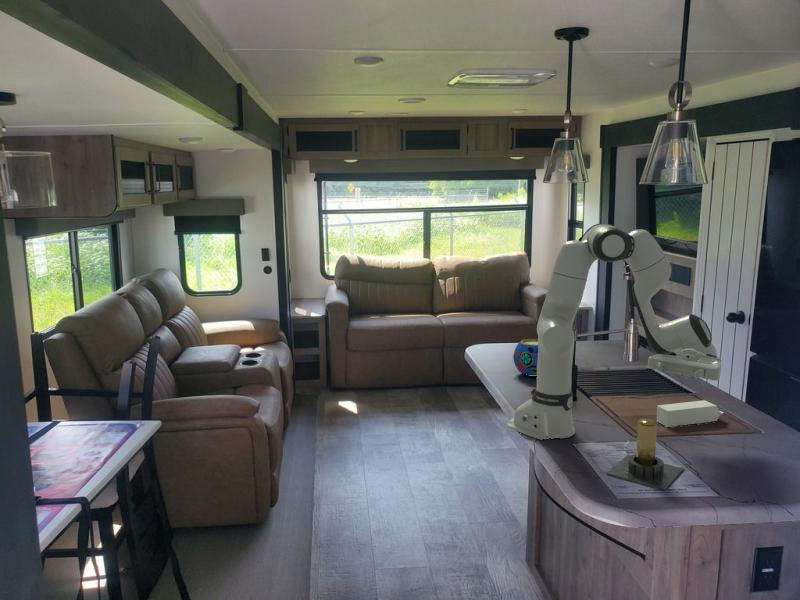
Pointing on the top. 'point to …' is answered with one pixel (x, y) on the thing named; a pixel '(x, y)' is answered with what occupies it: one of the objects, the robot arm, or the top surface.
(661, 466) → the square socket base
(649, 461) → the cylinder
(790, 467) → the top surface
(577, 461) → the top surface
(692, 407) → the milk
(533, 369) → the ceramic pot
